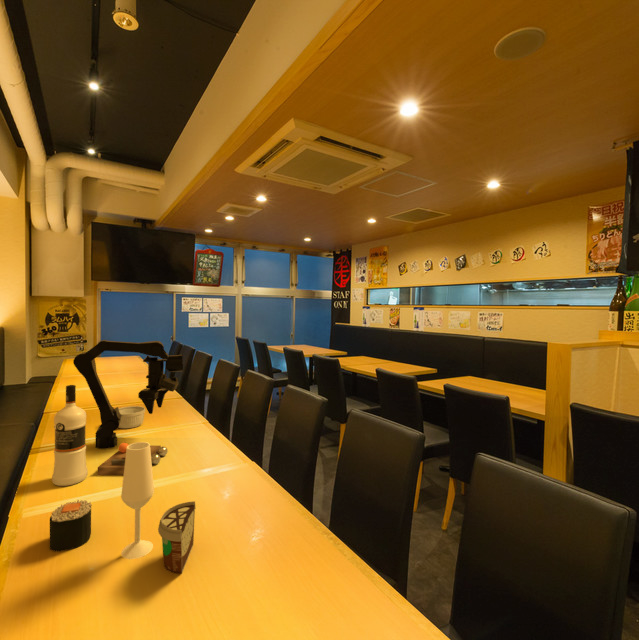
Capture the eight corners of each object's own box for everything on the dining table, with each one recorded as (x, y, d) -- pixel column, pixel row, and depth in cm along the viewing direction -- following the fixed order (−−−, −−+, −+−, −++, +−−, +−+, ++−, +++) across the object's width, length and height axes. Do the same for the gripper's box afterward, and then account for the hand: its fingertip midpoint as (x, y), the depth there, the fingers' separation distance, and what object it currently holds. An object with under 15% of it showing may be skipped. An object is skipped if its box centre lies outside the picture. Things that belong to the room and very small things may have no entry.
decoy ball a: (156, 457, 134) (156, 448, 134) (159, 454, 138) (159, 445, 138) (165, 457, 135) (165, 448, 134) (168, 454, 138) (169, 445, 138)
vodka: (94, 476, 119) (95, 383, 118) (67, 489, 110) (67, 389, 109) (72, 471, 122) (73, 381, 121) (44, 484, 113) (44, 386, 112)
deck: (97, 474, 120) (97, 462, 120) (125, 451, 139) (125, 441, 139) (138, 475, 121) (138, 462, 121) (160, 452, 140) (160, 441, 139)
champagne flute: (130, 539, 88) (131, 439, 87) (158, 541, 88) (160, 441, 87) (114, 558, 81) (115, 451, 80) (144, 560, 81) (145, 452, 80)
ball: (133, 446, 133) (125, 452, 130) (127, 450, 135) (120, 456, 131) (127, 439, 133) (119, 444, 130) (122, 443, 134) (114, 448, 131)
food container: (168, 542, 87) (168, 500, 87) (195, 541, 88) (195, 500, 88) (148, 580, 75) (149, 532, 75) (179, 579, 76) (180, 531, 75)
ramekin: (116, 431, 160) (116, 415, 160) (109, 423, 170) (109, 408, 170) (148, 425, 169) (148, 410, 169) (140, 418, 179) (140, 404, 179)
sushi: (45, 555, 82) (46, 519, 81) (55, 533, 89) (55, 501, 89) (88, 546, 85) (88, 512, 85) (94, 526, 93) (94, 495, 92)
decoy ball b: (148, 466, 127) (148, 456, 127) (152, 461, 131) (152, 452, 131) (158, 466, 128) (158, 456, 128) (161, 462, 131) (162, 452, 131)
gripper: (167, 377, 141) (167, 417, 141) (183, 368, 159) (182, 404, 160) (137, 376, 140) (137, 417, 141) (157, 368, 159) (156, 404, 159)
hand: (155, 410), depth 150 cm, fingers open, 9 cm apart
